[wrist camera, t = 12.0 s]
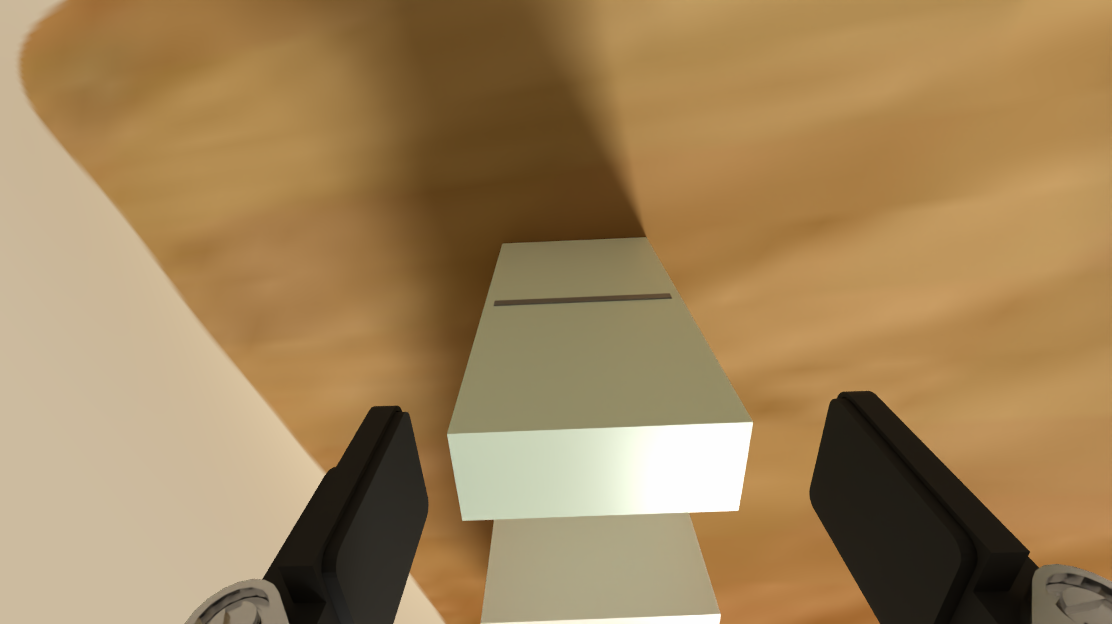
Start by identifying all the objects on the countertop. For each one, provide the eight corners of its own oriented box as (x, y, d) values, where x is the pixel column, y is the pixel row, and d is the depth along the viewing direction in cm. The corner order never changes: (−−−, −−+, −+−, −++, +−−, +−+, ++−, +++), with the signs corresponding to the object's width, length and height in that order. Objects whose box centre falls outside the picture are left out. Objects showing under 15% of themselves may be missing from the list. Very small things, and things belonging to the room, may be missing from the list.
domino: (640, 402, 24) (711, 670, 13) (518, 408, 24) (491, 679, 13) (641, 359, 23) (720, 612, 12) (513, 365, 23) (480, 622, 12)
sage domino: (644, 291, 21) (738, 512, 11) (507, 296, 21) (462, 522, 11) (646, 235, 20) (753, 420, 10) (502, 242, 20) (446, 432, 10)
